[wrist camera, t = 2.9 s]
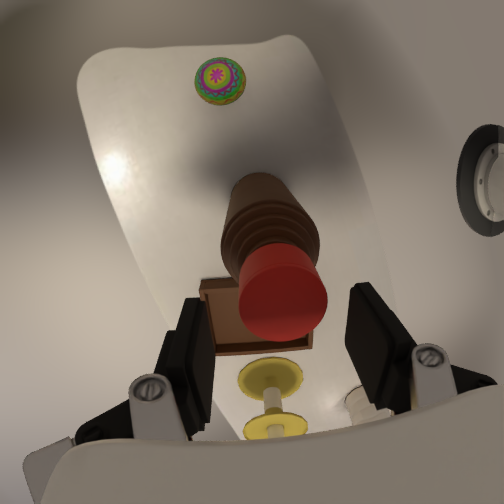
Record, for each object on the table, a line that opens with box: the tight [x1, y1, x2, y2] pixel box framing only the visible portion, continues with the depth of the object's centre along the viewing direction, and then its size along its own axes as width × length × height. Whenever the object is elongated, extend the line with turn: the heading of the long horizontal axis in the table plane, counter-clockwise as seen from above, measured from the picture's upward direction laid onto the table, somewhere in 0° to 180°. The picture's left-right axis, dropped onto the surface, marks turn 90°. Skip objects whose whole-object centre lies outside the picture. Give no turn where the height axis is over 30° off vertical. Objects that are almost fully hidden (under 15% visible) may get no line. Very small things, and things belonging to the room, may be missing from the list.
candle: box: [238, 357, 308, 440], centre depth 30 cm, size 10×10×27 cm
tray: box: [199, 278, 313, 356], centre depth 36 cm, size 13×10×2 cm
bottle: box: [221, 172, 320, 284], centre depth 22 cm, size 6×6×20 cm
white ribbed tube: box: [346, 386, 391, 426], centre depth 33 cm, size 9×6×25 cm
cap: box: [238, 243, 328, 342], centre depth 14 cm, size 4×4×3 cm
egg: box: [195, 57, 246, 105], centre depth 24 cm, size 5×5×6 cm
